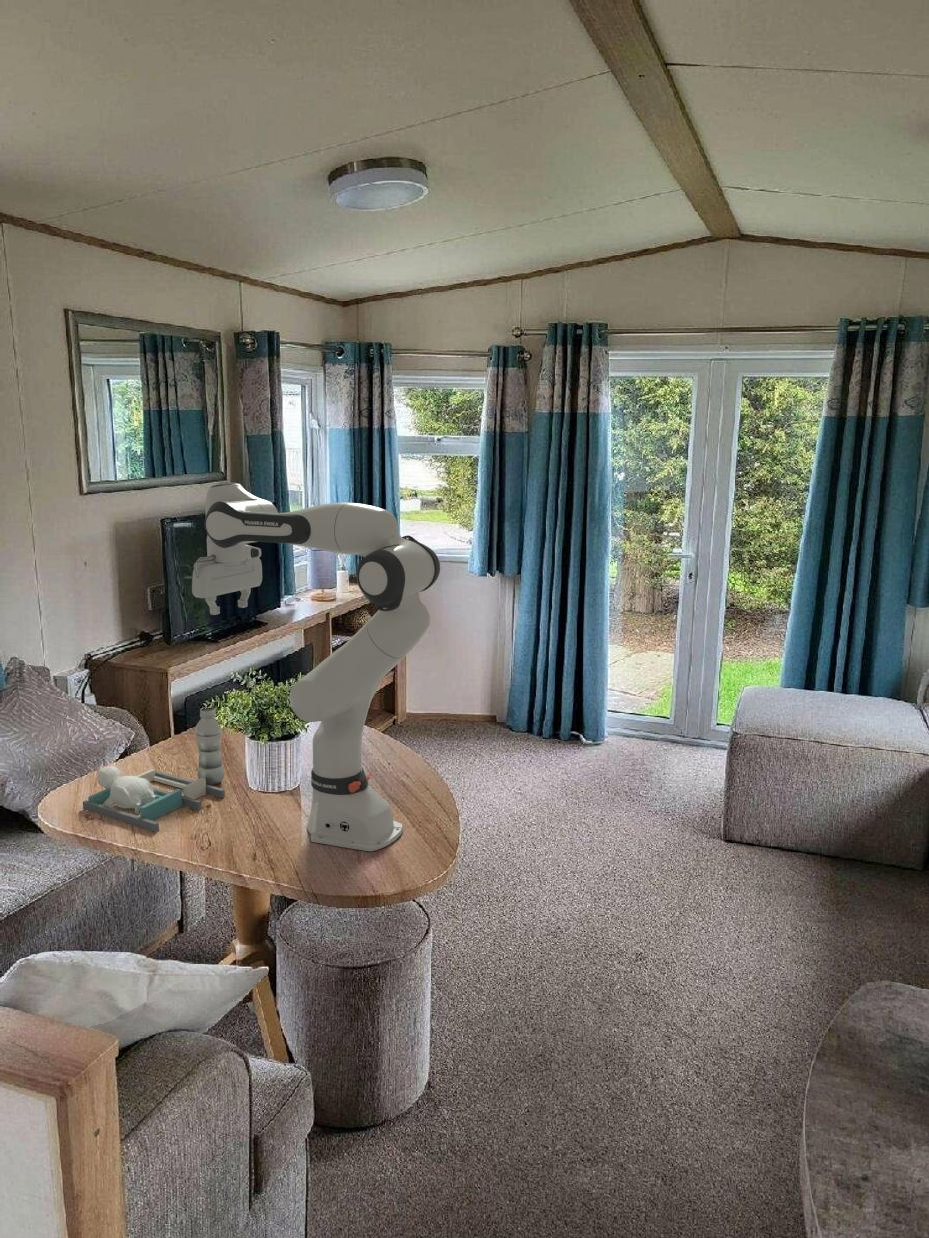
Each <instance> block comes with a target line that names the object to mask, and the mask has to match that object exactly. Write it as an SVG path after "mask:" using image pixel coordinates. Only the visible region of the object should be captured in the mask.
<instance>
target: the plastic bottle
mask: <svg viewBox="0 0 929 1238" xmlns="http://www.w3.org/2000/svg"><path fill="white" fill-rule="evenodd" d="M205 708H206V709H205ZM215 713H216V708H215V707H212V706H211V707H209V708H208V706H207V707H202V708H200V711H199V717H200V720H199V721H198V722H197V724H196V726H195V729H194V731H195V737H196V741H197V748H198V768H197V780H198V779H200V778H205V779H206V784H207V785H210V786H214V785H217V784H220V783H221V782H223V780H224V778H225V768H224V765H223V759H222V753H221V750H222V749H221V747H222V746H221V745H222V744H221V742H222V733H223V732H222V731H223V727H222V728H220V727H219V726H218V722H219V721H218V720H217V721H218V722H217V721H216V719H217V718H216V716H215ZM214 716H215V718H216V719H215V718H214Z"/></svg>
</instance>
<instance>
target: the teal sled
mask: <svg viewBox="0 0 929 1238" xmlns="http://www.w3.org/2000/svg"><path fill="white" fill-rule="evenodd" d="M110 790H111V789H105V788H104V789H103V790H101V791H98V792H96V793H94V794H91V795H89V796H88V797H87V798H88V800H87V801H90V802H93V803H97V804H100V805H103V804H104V803H105V801H106V800H107V799H108V798H109V797H110ZM169 792H170V791H169ZM154 795H156V797H155V799H154V801H151V802H149V803H146V804H143V805H142V806H141V807H140V809H139V815H140V816H139V817H142V818H145V819H148V820H152V821H154V820H155V819H158V818H160V817H162V816H164V815H166V814H168V813H170V812H172V811H173V810H176V809H178V808H180V807H183V806H182V805H183V804H182V796H183V789H181V788H180V789H179V788H177V789H174V790H172V791H171V792H170V793H168V794H166V795H164V796H162V795H158V794H155V793H154ZM103 806H104V805H103ZM106 807H107V806H106ZM115 809H116V808H115ZM116 810H119V811H122V812H124V811H123V810H120V809H116ZM128 813H129V814H132V813H130V812H128ZM132 815H135V814H132ZM135 816H137V815H135Z"/></svg>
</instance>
